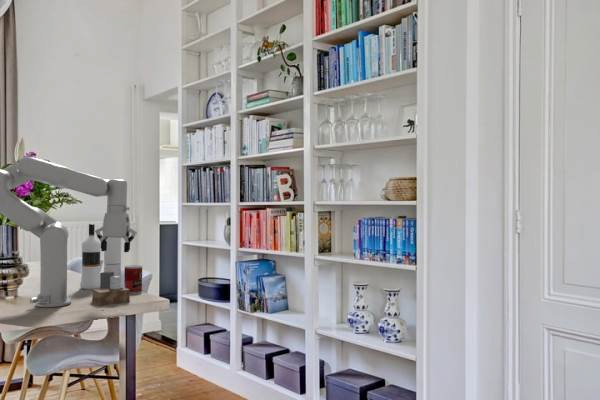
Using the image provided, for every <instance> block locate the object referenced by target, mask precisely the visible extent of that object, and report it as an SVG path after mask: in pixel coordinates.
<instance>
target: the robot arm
mask: <svg viewBox="0 0 600 400" xmlns="http://www.w3.org/2000/svg"><path fill="white" fill-rule="evenodd" d="M31 181H35V182H38V183H42V184H46V185H49V186H52V187H56V188H59V189H66V190H67V189H68V190H72V191H75V192H79V193H82V194H85V195H89V196H93V197H95V198H97V197H98V198H99V197H107V199H106V212H105V213H104V217H103V222H102V227H100V228H97V229H95V235H96V237H97V239H99V241H100V243H101V251H100V252H104V251H106V250H107V241H106V239H107V238H108V237H117V238H121V239H123V240H124V241H125V242H124V245H123V252H124V253H129V252H130V249H131V242H132V241H133V240H134V239H135V237H136V235H137V233H138V232H137V231H136V230H134V229H133V228H131V225H130V223H131V222H130V215H129V213H127V212H128V211H130V207H129V206H128V205H127V204H128V203H127V200H128V199H127V197H128V182H127V181H126V180H125V179H117V178H116V179H104V178H102V177H99V176H95V175H92V174H88V173H84V172H81V171H77V170H75V169H72V168H70V167H67V166H64V165H60V164H56V163H53V162H50V161H46V160H43V159H40V158H37V157H33V156H24V157H22V158H20V159H19V161H18V162H17V163H15V164H12V165H10V166H7V167H5V168H1V169H0V214H2V215H3V216H4V217H5V218H6V219H8V220H9V221H11V222H13V223H14V224H15V225H16V226H18V227H19V228H21V229H22V230H24V231H26V232H30V233H31V234H33V235H34V236H36V237H37V238H39V246H40V248H39V249H40V250H39V251H40V263H39V264H40V276H39V277H40V278H39V279H40V280H39V281H40V283H39V284H40V286H39V292H40V293H39V294H37V296H36V297H31V298H30V299H29V303H30V304H35V306H36V307H38V308H39V307H40V308H57V307H64V306H68V305H70V304H71V303H72V300H71V299H70V298H69V299H68V298H67V297H68V295H67V294H68V239H69V230H68V229H67V227H66V226H65V225H64V224H62V223H61V222H60V221H58V220H57V219H55V218H54V217H53V216H51V215H50V214H48V213H47V212H46V211H44V210H42V209H41V208H39V207H36V206H32V205H30V204H29V203H27V202H25V201H24V200H23V199H21V198H20V197H19V196H17V195H16V194H14V193H13V192H12V191H11V190H13V189H15V188H17V187H20V186H21V185H24V184H26V183H29V182H31ZM101 232H102V234H101Z"/></svg>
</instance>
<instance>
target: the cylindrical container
mask: <svg viewBox="0 0 600 400" xmlns="http://www.w3.org/2000/svg"><path fill="white" fill-rule="evenodd" d="M106 241H107V250H106V251H103V272H114V276H121V277H122V275H121V273H122V266H121V264H122V238H117V237H108V238H107V239H106Z"/></svg>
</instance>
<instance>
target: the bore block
mask: <svg viewBox="0 0 600 400" xmlns="http://www.w3.org/2000/svg"><path fill="white" fill-rule="evenodd" d="M91 291H92V292H91V293H92V296H91V297H92V301H91V302H93V303H94V304H96V305H99V306H102V305H103V306H104V305H106V306H107V305H115V304H120V303H121V304H123V303H130V298H131V297H130V295H131V294H130V293H131V291H130V289H127V288H124V286H121V290H110V288H101V289H100V288H98V289H91Z"/></svg>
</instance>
